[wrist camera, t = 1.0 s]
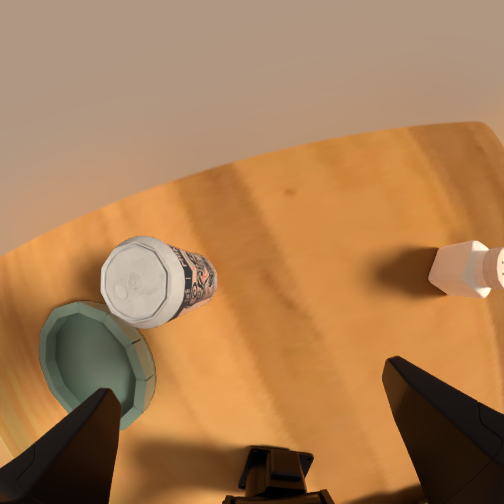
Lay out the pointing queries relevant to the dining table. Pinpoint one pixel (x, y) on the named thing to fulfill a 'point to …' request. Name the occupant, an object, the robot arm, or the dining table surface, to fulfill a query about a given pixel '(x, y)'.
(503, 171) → the dining table surface
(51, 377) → the bowl
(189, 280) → the beer can
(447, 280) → the pepper shaker
